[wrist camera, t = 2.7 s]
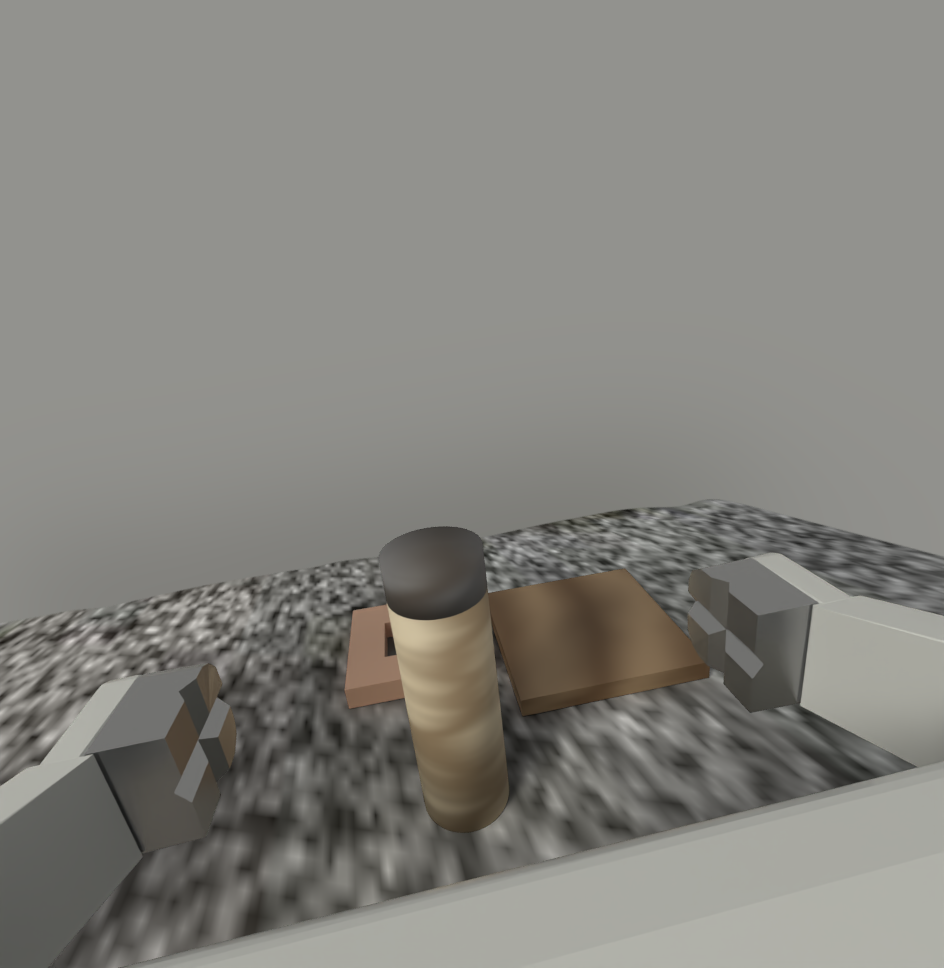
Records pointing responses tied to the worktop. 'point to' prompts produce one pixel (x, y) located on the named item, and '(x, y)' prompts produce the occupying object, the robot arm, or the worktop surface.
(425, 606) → the beech tool handle
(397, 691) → the frame
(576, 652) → the walnut board
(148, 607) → the worktop surface
